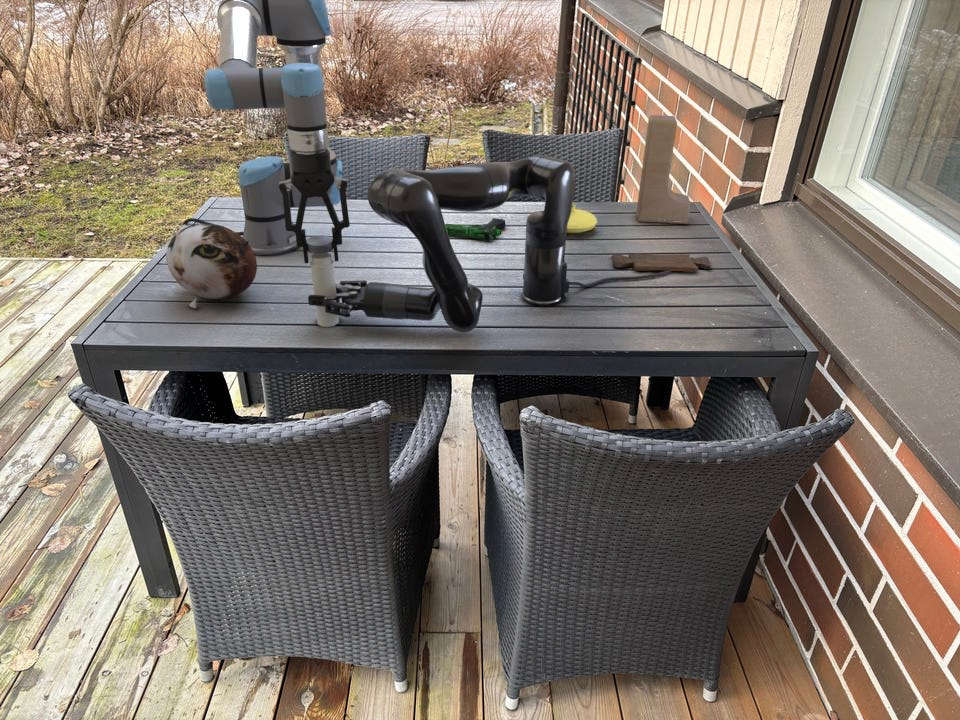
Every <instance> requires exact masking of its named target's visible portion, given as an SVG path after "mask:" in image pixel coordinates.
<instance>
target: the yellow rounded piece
mask: <svg viewBox="0 0 960 720" xmlns="http://www.w3.org/2000/svg"><path fill="white" fill-rule="evenodd" d="M597 223H598V219H597V217H596V215H595V214H593V213H591V212H589V211H587V210H584V209H578V208H576V205H575V204H572V209H571V215H570V219H569V221H568V224H567V233H566V234H580V233H584V232H585V233H586V232H587V231H591V230H592V229H594V228H596V226H597Z"/></svg>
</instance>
